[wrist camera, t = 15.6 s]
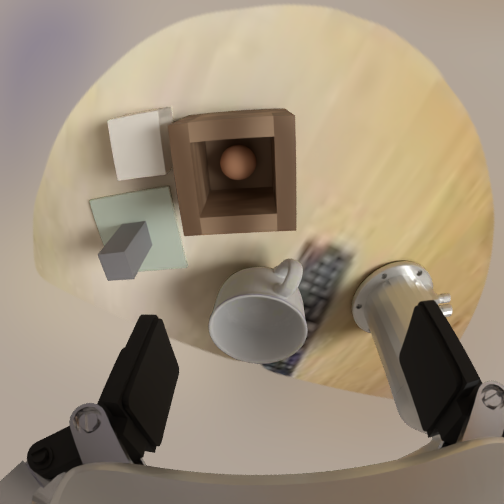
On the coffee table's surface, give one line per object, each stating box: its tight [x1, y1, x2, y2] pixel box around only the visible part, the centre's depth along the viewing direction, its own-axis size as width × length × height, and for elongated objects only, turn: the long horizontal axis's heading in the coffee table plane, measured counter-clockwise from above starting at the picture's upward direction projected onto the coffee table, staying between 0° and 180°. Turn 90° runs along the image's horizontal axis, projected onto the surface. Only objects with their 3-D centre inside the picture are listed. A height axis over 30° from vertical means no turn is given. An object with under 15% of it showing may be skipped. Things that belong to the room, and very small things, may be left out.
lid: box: [89, 186, 188, 281], centre depth 32 cm, size 10×10×8 cm
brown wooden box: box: [168, 109, 296, 236], centre depth 27 cm, size 10×10×8 cm
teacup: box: [209, 259, 307, 364], centre depth 35 cm, size 14×11×8 cm
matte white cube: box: [107, 107, 173, 181], centre depth 27 cm, size 5×6×5 cm
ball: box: [220, 145, 256, 180], centre depth 28 cm, size 3×3×3 cm
